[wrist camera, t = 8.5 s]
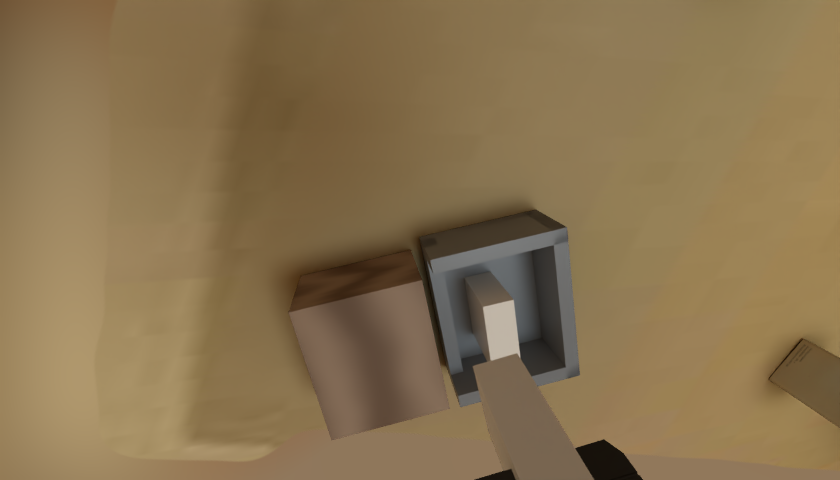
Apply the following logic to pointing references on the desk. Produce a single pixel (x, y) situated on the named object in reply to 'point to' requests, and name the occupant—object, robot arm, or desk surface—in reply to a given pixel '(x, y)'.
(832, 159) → the desk surface
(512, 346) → the cream tile
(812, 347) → the skincare box
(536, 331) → the box
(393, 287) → the brown block
